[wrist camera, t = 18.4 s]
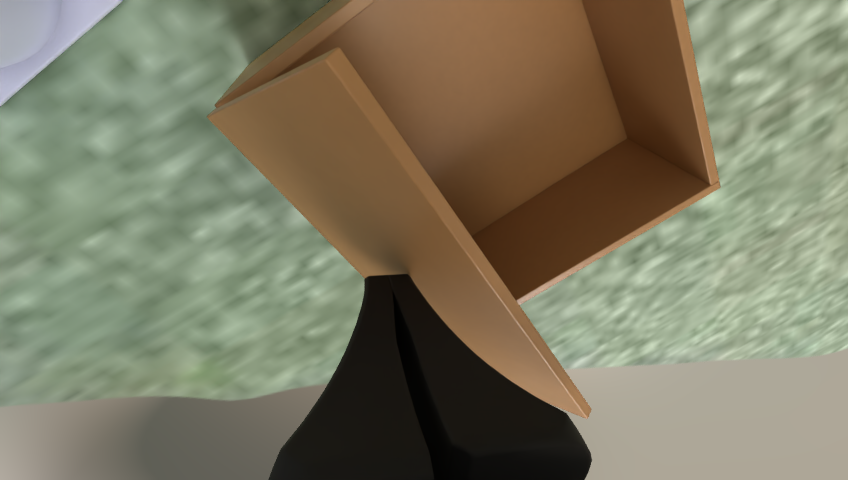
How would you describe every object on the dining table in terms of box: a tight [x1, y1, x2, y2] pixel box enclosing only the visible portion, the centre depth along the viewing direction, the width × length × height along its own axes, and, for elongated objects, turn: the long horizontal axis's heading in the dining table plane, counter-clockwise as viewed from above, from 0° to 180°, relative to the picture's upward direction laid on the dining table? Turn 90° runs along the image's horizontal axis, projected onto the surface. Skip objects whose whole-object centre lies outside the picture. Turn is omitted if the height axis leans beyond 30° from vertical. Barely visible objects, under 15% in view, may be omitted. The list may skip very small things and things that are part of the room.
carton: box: [215, 0, 720, 305], centre depth 18 cm, size 14×14×6 cm
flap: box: [207, 47, 591, 419], centre depth 13 cm, size 7×14×1 cm
